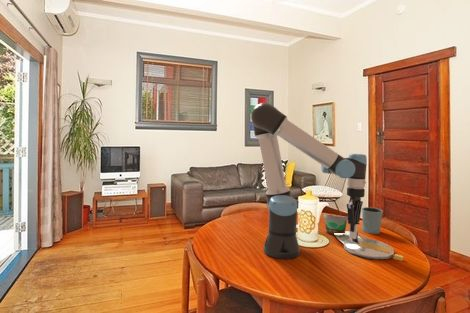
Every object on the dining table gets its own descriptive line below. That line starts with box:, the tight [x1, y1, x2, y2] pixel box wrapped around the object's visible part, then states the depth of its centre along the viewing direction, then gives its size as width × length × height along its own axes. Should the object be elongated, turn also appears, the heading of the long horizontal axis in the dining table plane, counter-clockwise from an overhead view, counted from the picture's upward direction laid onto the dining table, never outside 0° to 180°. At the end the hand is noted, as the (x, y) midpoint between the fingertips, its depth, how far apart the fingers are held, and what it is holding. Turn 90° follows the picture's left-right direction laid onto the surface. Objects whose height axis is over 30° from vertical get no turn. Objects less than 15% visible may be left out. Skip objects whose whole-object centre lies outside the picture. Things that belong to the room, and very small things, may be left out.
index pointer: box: [392, 253, 404, 262], centre depth 119 cm, size 3×2×2 cm, turn 46°
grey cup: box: [361, 206, 384, 235], centre depth 155 cm, size 10×10×12 cm
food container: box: [323, 213, 348, 236], centre depth 148 cm, size 12×6×10 cm, turn 68°
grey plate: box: [343, 231, 395, 260], centre depth 127 cm, size 20×20×6 cm
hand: (352, 237), depth 134 cm, fingers closed
